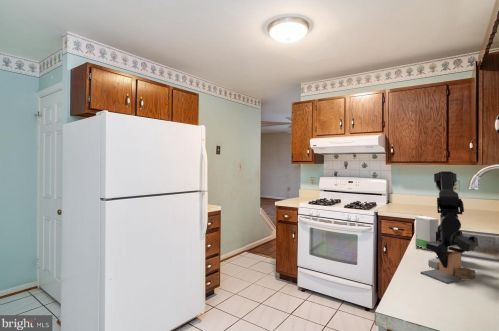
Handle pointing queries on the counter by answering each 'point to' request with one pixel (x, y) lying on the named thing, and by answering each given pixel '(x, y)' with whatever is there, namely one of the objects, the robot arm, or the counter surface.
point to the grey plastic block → (434, 263)
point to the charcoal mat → (441, 276)
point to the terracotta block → (452, 263)
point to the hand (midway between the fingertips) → (450, 266)
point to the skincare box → (425, 230)
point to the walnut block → (465, 273)
